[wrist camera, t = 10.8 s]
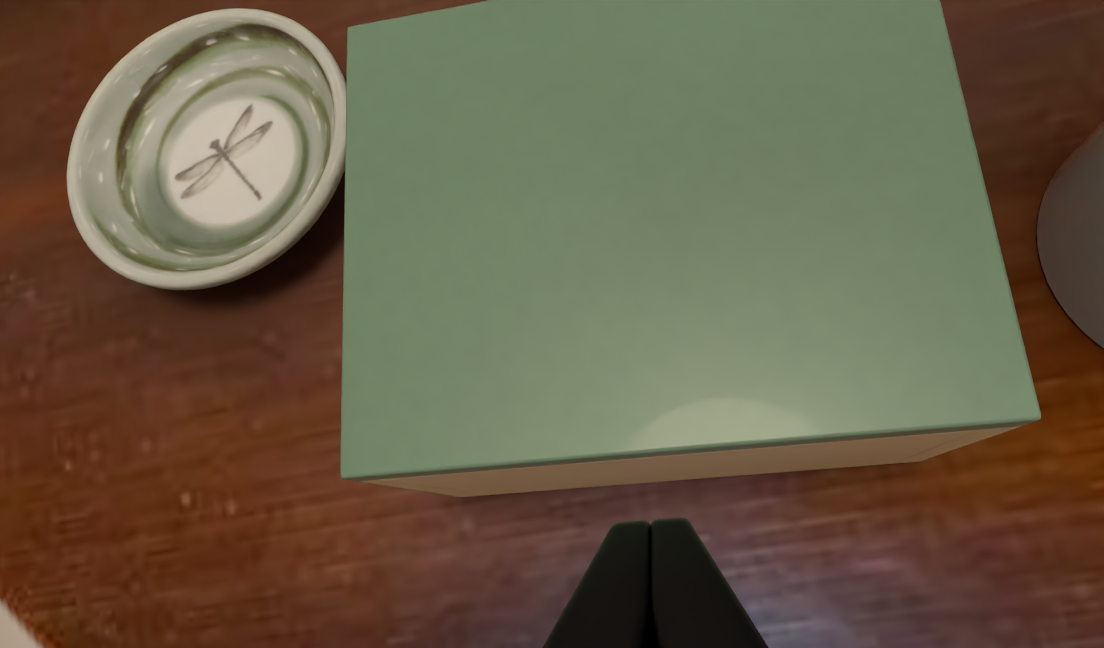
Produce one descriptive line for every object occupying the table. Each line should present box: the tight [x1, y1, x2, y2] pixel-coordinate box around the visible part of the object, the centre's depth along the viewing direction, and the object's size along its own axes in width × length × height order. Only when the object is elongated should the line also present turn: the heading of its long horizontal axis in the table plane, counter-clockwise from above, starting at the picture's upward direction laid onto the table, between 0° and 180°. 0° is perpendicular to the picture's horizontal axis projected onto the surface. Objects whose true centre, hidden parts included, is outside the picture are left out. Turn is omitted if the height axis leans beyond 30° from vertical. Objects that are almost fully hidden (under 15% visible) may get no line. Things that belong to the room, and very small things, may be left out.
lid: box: [340, 0, 1041, 481], centre depth 15 cm, size 10×12×1 cm
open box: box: [362, 426, 1020, 497], centre depth 19 cm, size 9×12×7 cm
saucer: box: [67, 8, 347, 290], centre depth 25 cm, size 10×10×2 cm
